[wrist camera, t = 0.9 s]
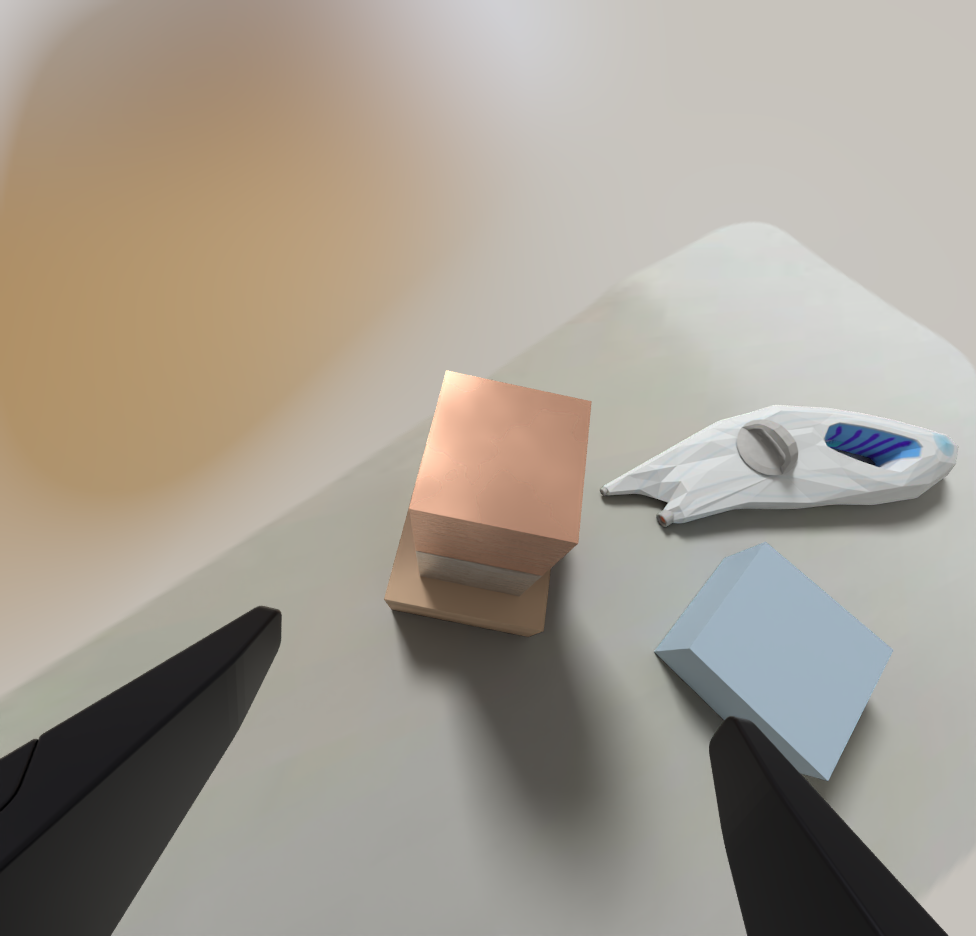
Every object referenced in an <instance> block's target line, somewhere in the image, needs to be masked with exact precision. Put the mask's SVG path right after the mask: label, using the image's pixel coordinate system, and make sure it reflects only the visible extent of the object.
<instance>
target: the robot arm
mask: <svg viewBox="0 0 976 936" xmlns="http://www.w3.org/2000/svg"><path fill="white" fill-rule="evenodd" d="M281 621H282V615H281V612H280V610H278V609H275V608H270V607H266V606H258V607H256V608H254V609H252V610H251V611H249V612H247V613H245V614H244V615H242V616H240V617H239V618H237V619H235V620H234V621H232V622H230V623H229V624H227V625H225V626H224V627H222V628H220V629H219V630H217V631H215V632H213V633H212V634H210V635H208V636H207V637H205V638H203V639H202V640H200V641H198V642H197V643H195V644H193V645H192V646H190V647H188V648H187V649H185V650H183V651H181V652H180V653H178V654H176V655H175V656H173V657H171V658H170V659H168V660H166V661H165V662H163V663H161V664H160V665H158V666H156V667H154V668H153V669H151V670H149V671H148V672H146V673H144V674H143V675H141V676H139V677H138V678H136V679H134V680H133V681H131V682H129V683H128V684H126V685H124V686H122V687H121V688H119V689H117V690H116V691H114V692H112V693H111V694H109V695H107V696H106V697H104V698H102V699H101V700H99V701H97V702H96V703H94V704H92V705H90V706H89V707H87V708H85V709H84V710H82V711H80V712H79V713H77V714H75V715H74V716H72V717H70V718H69V719H67V720H65V721H64V722H62V723H60V724H58V725H57V726H55V727H53V728H52V729H50V730H48V731H47V732H45V733H43V734H42V735H41V736H40V737H39V739H33V740H31V741H30V742H28V743H26V744H24V745H23V746H21V747H19V748H18V749H16V750H14V751H13V752H11V753H9V754H8V755H6V756H4V757H3V758H1V759H0V936H111V934H112V933H113V931H114V930H115V928H116V926H117V925H118V923H119V922H120V920H121V918H122V917H123V915H124V914H125V912H126V910H127V909H128V907H129V906H130V904H131V902H132V901H133V899H134V897H135V896H136V894H137V893H138V891H139V889H140V888H141V886H142V885H143V883H144V881H145V880H146V878H147V877H148V875H149V873H150V872H151V870H152V869H153V867H154V865H155V864H156V862H157V861H158V859H159V857H160V856H161V854H162V853H163V851H164V849H165V848H166V846H167V845H168V843H169V841H170V840H171V838H172V837H173V835H174V833H175V832H176V830H177V828H178V827H179V825H180V824H181V822H182V820H183V819H184V817H185V816H186V814H187V812H188V811H189V809H190V808H191V806H192V804H193V803H194V801H195V800H196V798H197V796H198V795H199V793H200V792H201V790H202V788H203V787H204V785H205V784H206V782H207V780H208V779H209V777H210V776H211V774H212V772H213V771H214V769H215V768H216V766H217V764H218V763H219V761H220V759H221V758H222V756H223V755H224V753H225V751H226V750H227V748H228V747H229V745H230V743H231V742H232V740H233V738H234V737H235V735H236V733H237V732H238V730H239V728H240V726H241V724H242V722H243V720H244V718H245V716H246V714H247V712H248V710H249V708H250V706H251V704H252V702H253V700H254V698H255V696H256V694H257V692H258V690H259V688H260V686H261V684H262V682H263V680H264V678H265V676H266V674H267V672H268V670H269V668H270V666H271V664H272V662H273V660H274V658H275V656H276V654H277V652H278V649H279V647H280V643H281ZM709 755H710V761H711V767H712V773H713V779H714V786H715V792H716V798H717V804H718V811H719V817H720V823H721V829H722V834H723V839H724V844H725V848H726V853H727V857H728V861H729V865H730V869H731V873H732V877H733V881H734V885H735V889H736V893H737V897H738V901H739V905H740V909H741V913H742V917H743V921H744V925H745V929H746V933H747V936H948V935H947V933H946V932H945V931H944V930H943V929H942V928H941V927H940V926H939V925H938V924H937V923H936V922H935V920H934V919H933V918H932V917H931V916H930V915H929V914H928V913H927V912H926V911H925V909H924V908H923V907H922V906H921V905H920V904H919V903H918V902H917V901H916V900H915V898H914V897H913V896H912V895H911V894H910V893H909V892H908V891H907V890H906V889H905V888H904V886H903V885H902V884H901V883H900V882H899V881H898V880H897V879H896V878H895V877H894V875H893V874H892V873H891V872H890V871H889V870H888V869H887V868H886V867H885V866H884V865H883V863H882V862H881V861H880V860H879V859H878V858H877V857H876V856H875V855H874V854H873V852H872V851H871V850H870V849H869V848H868V847H867V846H866V845H865V844H864V843H863V842H862V840H861V839H860V838H859V837H858V836H857V835H856V834H855V833H854V832H853V831H852V830H851V828H850V827H849V826H848V825H847V824H846V823H845V822H844V821H843V820H842V819H841V817H840V816H839V815H838V814H837V813H836V812H835V811H834V810H833V809H832V808H831V807H830V805H829V804H828V803H827V802H826V801H825V800H824V799H823V798H822V797H821V796H820V794H819V793H818V792H817V791H816V790H815V789H814V788H813V787H812V786H811V785H810V784H809V782H808V781H807V780H806V779H805V778H804V777H803V776H802V775H801V774H800V773H799V772H798V770H797V769H796V768H795V767H794V766H793V765H792V764H791V763H790V762H789V761H788V759H787V758H786V757H785V756H784V755H783V754H782V753H781V752H780V751H779V750H778V749H777V747H776V746H775V745H774V744H773V743H772V742H771V741H770V740H769V739H768V738H767V736H766V735H765V734H764V733H763V732H762V731H761V730H760V729H759V728H758V727H757V726H756V725H755V724H754V723H753V722H752V721H750V720H748V719H744V718H740V717H736V716H729V717H727V718H726V719H725V720H724V722H723V723H722V724H721V726H720V727H719V729H718V730H717V731H716V733H715V734H714V736H713V737H712V739H711V741H710V745H709Z"/></svg>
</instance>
